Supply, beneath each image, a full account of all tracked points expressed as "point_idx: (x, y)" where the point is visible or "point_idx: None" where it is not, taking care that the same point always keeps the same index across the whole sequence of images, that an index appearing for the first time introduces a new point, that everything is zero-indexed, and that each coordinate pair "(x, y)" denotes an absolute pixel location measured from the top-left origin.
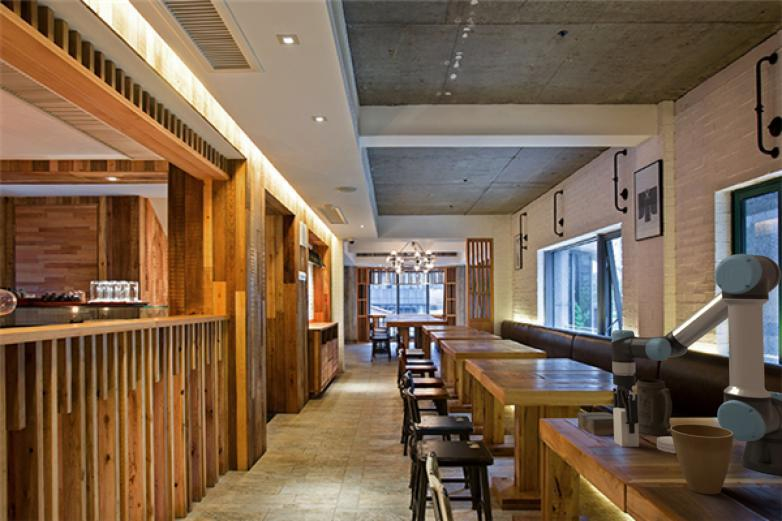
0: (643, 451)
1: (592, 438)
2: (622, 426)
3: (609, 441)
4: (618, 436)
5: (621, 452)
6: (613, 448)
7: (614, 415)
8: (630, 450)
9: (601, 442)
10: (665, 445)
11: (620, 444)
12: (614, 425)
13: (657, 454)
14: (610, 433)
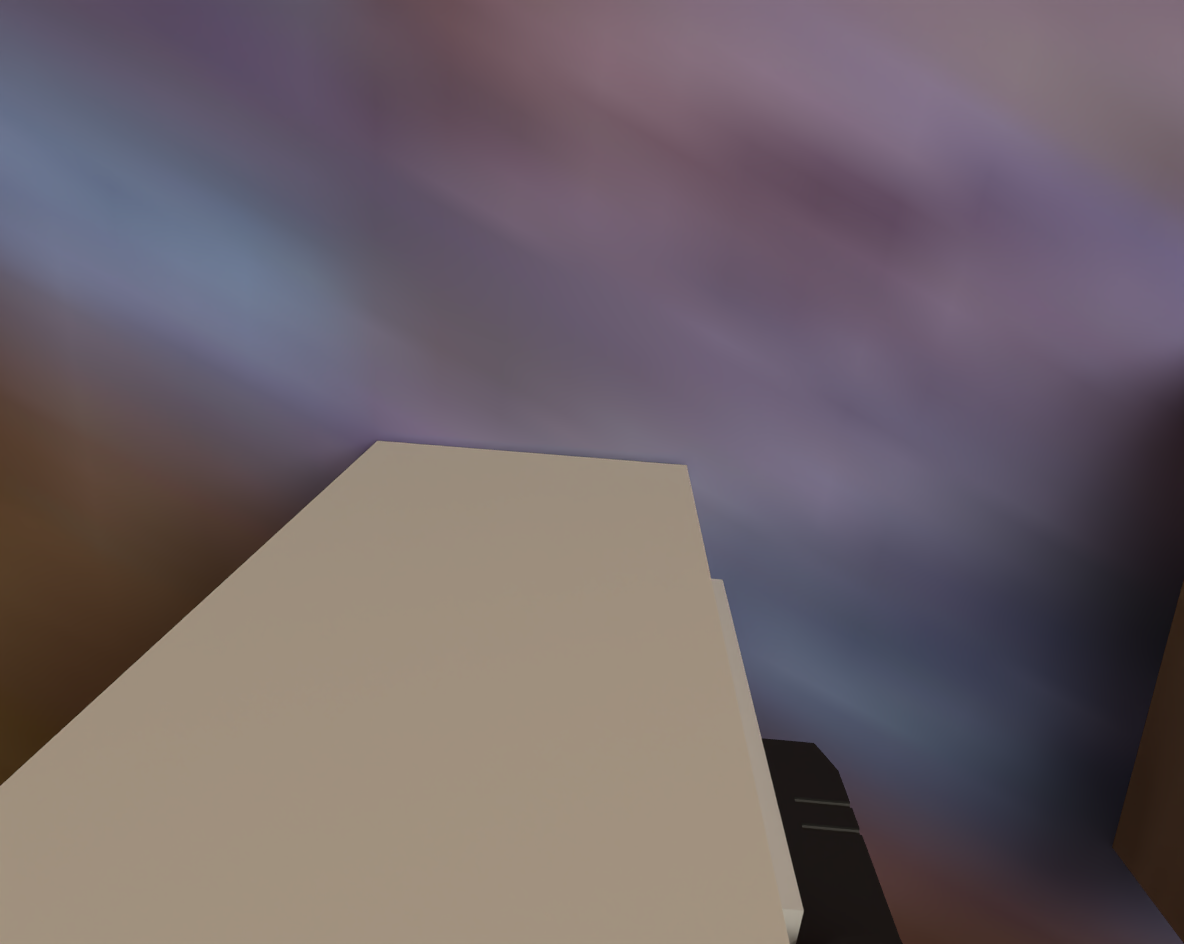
0: (142, 620)
1: (1050, 161)
2: (158, 668)
3: (751, 403)
4: (479, 507)
5: (34, 243)
6: (284, 229)
7: (671, 930)
8: (178, 463)
9: (713, 204)
10: None
11: (433, 451)
12: (675, 635)
13: (16, 712)
14: (1180, 664)
